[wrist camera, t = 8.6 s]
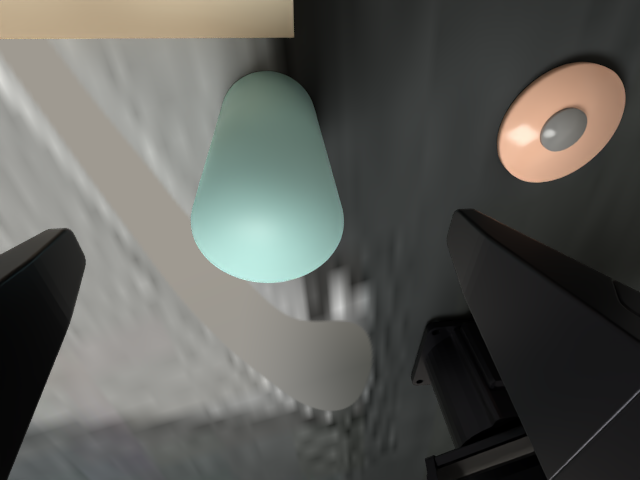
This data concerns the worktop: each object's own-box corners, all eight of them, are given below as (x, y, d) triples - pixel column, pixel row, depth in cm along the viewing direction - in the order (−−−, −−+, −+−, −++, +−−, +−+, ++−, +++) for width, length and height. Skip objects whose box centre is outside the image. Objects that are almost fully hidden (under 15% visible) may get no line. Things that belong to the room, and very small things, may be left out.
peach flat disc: (584, 175, 18) (592, 182, 17) (482, 180, 17) (488, 186, 17) (642, 60, 14) (655, 64, 14) (520, 62, 14) (529, 66, 14)
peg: (315, 161, 16) (340, 278, 10) (227, 164, 15) (205, 287, 10) (316, 70, 13) (348, 156, 8) (213, 71, 13) (175, 162, 8)
